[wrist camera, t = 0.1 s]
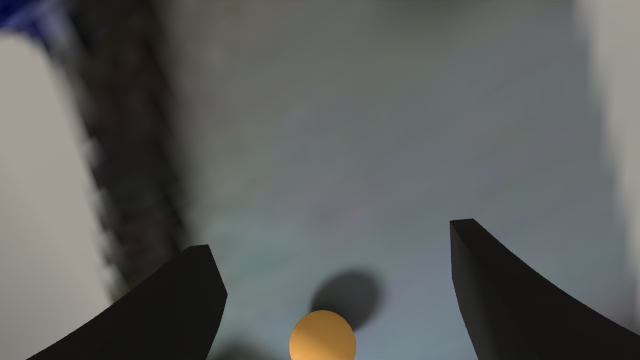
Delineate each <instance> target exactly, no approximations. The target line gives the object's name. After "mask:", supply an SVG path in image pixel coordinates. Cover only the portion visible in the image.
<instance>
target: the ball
mask: <svg viewBox="0 0 640 360" xmlns="http://www.w3.org/2000/svg"><path fill="white" fill-rule="evenodd" d="M355 352H356V341H355V336H354V333H353V331H352V329H351V327H350V325H349V324H348V322H347V321H346V320H345V319H344V318H343V317H341V316H340V315H338V314H336V313H334V312H331V311H326V310H319V311H314V312H311V313H309V314H307V315H306V316H304V317H303V318H302V319H301V320H300V321H299V322H298V323H297V324H296V326H295V328H294V329H293V332H292V334H291V338H290V355H291V359H292V360H354V357H355Z"/></svg>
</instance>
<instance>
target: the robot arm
mask: <svg viewBox="0 0 640 360" xmlns="http://www.w3.org/2000/svg"><path fill="white" fill-rule="evenodd" d="M450 240H451V264H452V280H453V284H454V288H455V292H456V296H457V300H458V304H459V308H460V312H461V314H462V317H463V320H464V323H465V325H466V328H467V331H468V333H469V336H470V339H471V341H472V344H473V346H474V349H475V352H476V354H477V357H478V360H640V336H639V335H637V334H635V333H633V332H631V331H629V330H628V329H626V328H624V327H622V326H620V325H618V324H617V323H615V322H613V321H611V320H610V319H608V318H606V317H604V316H603V315H601V314H599V313H598V312H596V311H594V310H593V309H591V308H589V307H588V306H586V305H585V304H583V303H581V302H580V301H578V300H576V299H575V298H573V297H572V296H570V295H569V294H567V293H566V292H564V291H563V290H561V289H560V288H558V287H557V286H555V285H554V284H552V283H551V282H550V281H548V280H547V279H545V278H544V277H543V276H541V275H540V274H539V273H537V272H536V271H535V270H533V269H532V268H531V267H530V266H528V265H527V264H526V263H525V262H523V261H522V260H521V259H520V258H518V257H517V256H516V255H515V254H513V253H512V252H511V251H510V250H509V249H507V248H506V247H505V246H504V245H503V244H501V243H500V242H499V241H498V240H497V239H496V238H495V237H493V236H492V235H491V234H490V233H489V232H488V231H487V230H486V229H485V228H483V227H482V226H481V225H480V224H479V223H478V222H477V221H475V220H474V219H473V218H472V219H462V220H452V221H450ZM227 295H228V294H227V291H226V289H225V286H224V284H223V281H222V278H221V276H220V273H219V271H218V268H217V266H216V263H215V260H214V258H213V255H212V253H211V250H210V248H209V245H208V244H207V245H197V246H190V247H188V248H187V249H185V250H184V251H182V252H181V253H179V254H178V255H177V256H175V257H174V258H173V259H171V260H170V261H169V262H167V263H166V264H165V265H163V266H162V267H161V268H160V269H158V270H157V271H156V272H155V273H153V274H152V275H151V276H149V277H148V278H147V279H146V280H144V281H143V282H142V283H140V284H139V285H138V286H137V287H135V288H134V289H133V290H131V291H130V292H129V293H127V294H126V295H125V296H123V297H122V298H121V299H119V300H118V301H116V302H115V303H114V304H112V305H111V306H110V307H108V308H107V309H106V310H104V311H103V312H101V313H100V314H99V315H97V316H96V317H94V318H93V319H91V320H90V321H89V322H87V323H86V324H84V325H83V326H81V327H80V328H78V329H77V330H75V331H73V332H72V333H70V334H69V335H67V336H65V337H64V338H62V339H61V340H59V341H57V342H56V343H54V344H52V345H51V346H49V347H47V348H46V349H44V350H42V351H40V352H38V353H37V354H35V355H33V356H32V357H30V358H28V359H26V360H206V358H207V355H208V353H209V351H210V348H211V346H212V343H213V341H214V338H215V336H216V333H217V331H218V328H219V326H220V322H221V319H222V315H223V312H224V307H225V303H226V299H227Z"/></svg>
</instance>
